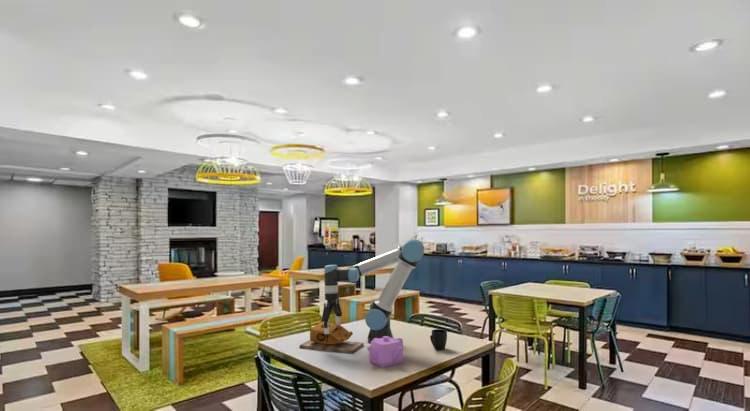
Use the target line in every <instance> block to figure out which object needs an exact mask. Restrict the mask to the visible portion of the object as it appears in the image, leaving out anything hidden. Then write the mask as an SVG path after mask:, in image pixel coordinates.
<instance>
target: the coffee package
mask: <svg viewBox="0 0 750 411" xmlns="http://www.w3.org/2000/svg"><path fill="white" fill-rule="evenodd" d="M353 334H354V333H353V331H349V330H347V328H345V327H344V326H342V325H341V324H340V325H336V323H335V324H334V323H330V322H329V334H324V322H322V321H321V322H319V323H317V324H315V325H314V326H313V327H312V328H311V329H310V330H309V340H310V341H312V342H317V343H320V344H336V343H340V342H343V341H349V339H350V338H351V336H353Z"/></svg>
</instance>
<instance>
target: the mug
mask: <svg viewBox="0 0 750 411" xmlns="http://www.w3.org/2000/svg"><path fill="white" fill-rule="evenodd" d="M429 339H430V342H431V345H432V347H433V348H434V350H436V351H444V350H445V349H446V346H447V340H448V332H447V330H446V329H440V328H437V329H432V330H431V334H430V336H429Z"/></svg>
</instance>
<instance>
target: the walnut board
mask: <svg viewBox="0 0 750 411" xmlns="http://www.w3.org/2000/svg"><path fill="white" fill-rule="evenodd" d="M364 344H365V343H364V342H362V341H361V342H360V341H352V340H351V341H349V340H346V341H343V342H340V343H336V344H320V343H317V342H312V341H310V339H309V340H307V341H305V342H303V343H301V344H299V348H300V349H306V350H307V349H308V350H316V351H324V352H325V351H327V352H332V353H333V352H335V353H343V354H350V355H351V354H353V353H355V352H356V351H358V350H359V349H361V348H362V347H364Z"/></svg>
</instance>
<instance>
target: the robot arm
mask: <svg viewBox="0 0 750 411" xmlns="http://www.w3.org/2000/svg"><path fill="white" fill-rule="evenodd" d="M424 253H425V247H424V244H423V242H422V241H420V240H419V239H416V238H415V239H409V240H407V241H406V242H404V244H401V245H398V247H397V248H396V249H393V250H391V251H387V252H385V253H382V254H380V255H378V256H375V257H372V258H369V259H366V260H363V261H362V262H359V263H357V264H353V265H350V266H349V267H347V268H346V267H342V268H339V267H338V265H337V264H328V265H325V266H324V270H323V276H324V300H325V301H327V302H324V303H323V310H322V311H323V312H322V315H321V322H322V323H324V334H329V323H330V321H329V319H330V316H331V313H332V312H334V314H335V316H334V319H335V325H340V326H341V317H342V316H343V312H342V308H341V304H340V299H339V283H341V282H343V283H344V282H346V283H347V282H349V283H350V282H351V283H354V282H358V281H359V279H360V278H361V277H363V276H365V275H368V274H370V273H371V274H372V273H373V272H376V271H378V270H382V269H384V268H386V267H389V266H392V265H394V264H396V265H395V266H394V269H393V271H392V272H391V275H390V276H389V278H388V280H387V281H386V284H385V285H384V288H383V289H382V291H381V294H380V295H379V297H378V299H374V301H370V303H369V310H368V311H367V312H366V313H365V318H364V320H365V325H366V326H367V327H368V328H369V332H368V336H367V343H369V344H371V341H372V340H373V339H374V338H378V339H380V338H383V336H389V337H391V338H394V335H393V332H392V329H391V315H392V313H393V311H394V310H393V305H394V304H395V301H396V300H397V298H398V296H399V295H400V292H401V291H402V289H403V287H404V286H405V283H406V281H407V279H408V278H409V275H410V274H411V273H412V270H413V269H417V267H418V264H419V263H420V261H421V259H422V258H423V256H424Z"/></svg>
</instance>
